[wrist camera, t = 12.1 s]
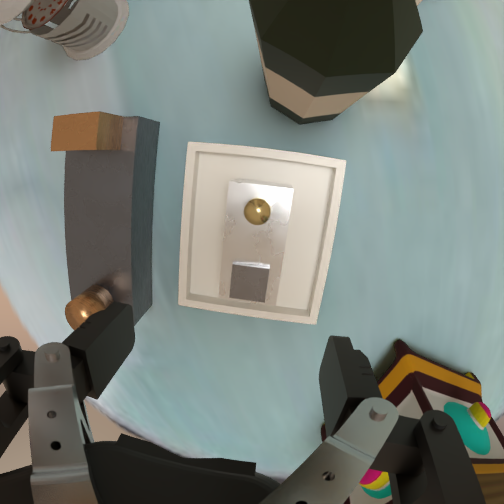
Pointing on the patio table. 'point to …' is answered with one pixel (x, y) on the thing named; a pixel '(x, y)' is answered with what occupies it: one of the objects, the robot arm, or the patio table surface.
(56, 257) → the patio table surface
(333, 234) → the tray
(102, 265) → the plane body
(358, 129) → the patio table surface
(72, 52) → the french press
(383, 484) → the decorative lantern
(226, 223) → the lever cap
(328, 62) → the wine bottle
